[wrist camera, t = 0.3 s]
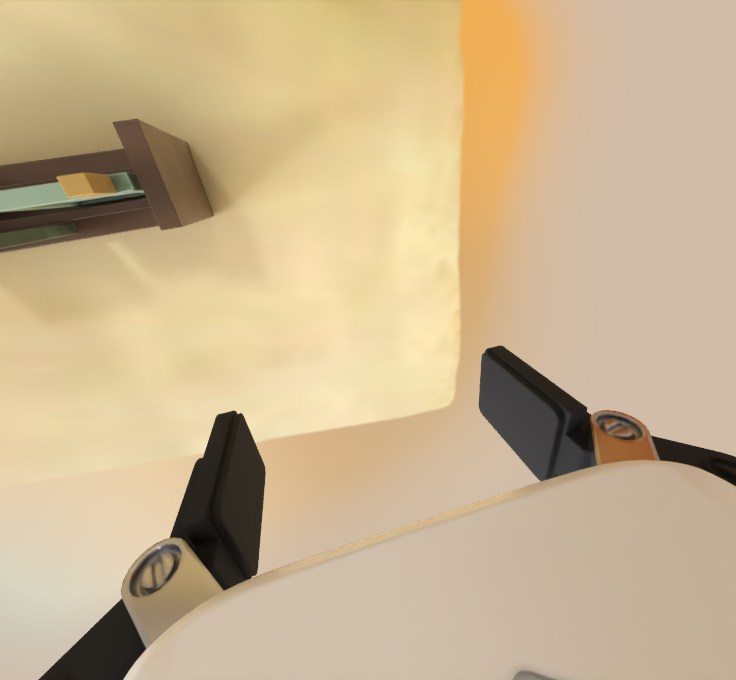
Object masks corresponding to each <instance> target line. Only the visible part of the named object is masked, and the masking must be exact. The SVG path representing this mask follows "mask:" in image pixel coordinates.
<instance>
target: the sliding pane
mask: <svg viewBox="0 0 736 680" xmlns="http://www.w3.org/2000/svg"><path fill="white" fill-rule="evenodd" d="M57 179H58V181H59V182H55V183H48V184H41V185H35V186H28V187H21V188H14V189H7V190H0V213H1V212H14V211H27V210H39V209H52V208H65V207H77V206H83V205H90V204H96V203H102V202H109V201H115V200H121V199H128V198H134V197H140V196H145V194H144V191H143V189H142V187H141V185H140V183H139V180H138V178H137V176H136V174H135V173H128V172H123V173H116V174H109V175H107V174H95V173H76V174H69V175H62V176H57Z"/></svg>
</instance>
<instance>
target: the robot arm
mask: <svg viewBox="0 0 736 680" xmlns="http://www.w3.org/2000/svg"><path fill="white" fill-rule="evenodd" d="M479 409H480V411H481V413H482V415H483V416H484V417H485V418H486V419H487V420H488V422H489V423H490V424H491V425H492V426H493V427H494V429H495V430H496V431H497V432H498V433H499V434H500V435H501V437H502V438H503V439H504V440H505V441H506V442H507V444H508V445H509V446H510V447H511V448H512V449H513V450H514V452H515V453H516V454H517V455H518V456H519V458H520V459H521V460H522V461H523V462H524V463H525V464H526V466H527V467H528V468H529V469H530V470H531V471H532V473H533V474H534V475H535V476H536V477H537V478H538V479H539V480H540V481H541V482H538V483H535V484H532V485H529V486H526V487H523V488H519V489H516V490H513V491H510V492H507V493H504V494H501V495H497V496H494V497H491V498H488V499H485V500H482V501H479V502H476V503H472V504H469V505H466V506H463V507H460V508H457V509H454V510H451V511H448V512H445V513H442V514H439V515H435V516H433V517H429V518H426V519H423V520H420V521H417V522H414V523H411V524H408V525H405V526H402V527H399V528H396V529H393V530H390V531H387V532H383V533H380V534H377V535H374V536H372V537H368V538H365V539H362V540H359V541H356V542H353V543H350V544H347V545H344V546H341V547H339V548H335V549H332V550H329V551H326V552H323V553H320V554H317V555H314V556H312V557H309V558H306V559H303V560H300V561H297V562H295V563H292V564H289V565H286V566H283V567H280V568H277V569H275V570H272V571H269V572H266V573H264V574H261V575H259V576H256V577H254V578H251V577H252V576H255V575H256V574H257V570H258V560H259V547H260V535H261V523H262V511H263V499H264V497H263V496H264V486H265V466H264V463H263V461H262V458H261V456H260V454H259V451H258V449H257V446H256V444H255V442H254V439H253V437H252V435H251V432H250V430H249V428H248V425H247V423H246V421H245V418H244V416H243V414H242V413H240V414H237V412H236V411H231V412H227V413H223V414H218V415H217V417H216V419H215V422H214V425H213V428H212V432H211V435H210V438H209V441H208V444H207V447H206V450H205V453H204V457H203V458H200V459H198V460H197V462H196V463H195V466H194V468H193V471H192V474H191V477H190V480H189V484H188V486H187V489H186V492H185V495H184V498H183V501H182V504H181V506H180V509H179V512H178V515H177V518H176V521H175V524H174V527H173V530H172V533H171V536H170V538H169V539H165V540H162V541H160V542H158V543H156V544H154V545H153V546H152V547H150V548H149V549H147V550H146V551H145V552H144V553H143V554H142V555H141V556H140V557H139V558H138V559H137V560H136V561H135V562H134V564H133V565H132V566H131V567H130V569H129V570H128V572H127V574H126V576H125V578H124V580H123V583H122V588H121V595H122V599H121V600H120V601H119V602H118V603H117V604H116V605H115V606H114V607H113V608H112V609H111V610H110V611H109V612H108V613H107V614H106V615H104V616H103V618H101V619H100V620H99V622H97V623H96V624H95V625H94V626H93V627H92V628H91V629H90V630H89V631H88V632H87V633H86V634H85V635H84V636H83V637H82V638H81V639H80V640H79V641H78V642H77V643H76V644H75V645H74V646H73V647H72V648H71V649H70V650H69V651H68V652H67V653H65V654H64V655H63V656H62V657H61V658H60V659H59V660H58V661H57V662H56V663H55V664H54V665H53V666H52V667H51V668H50V669H49V670H48V671H47V672H46V673H45V674H44V675H43V676H42V677H41V678H40V679H39V680H736V457H734V456H731V455H728V454H725V453H721V452H717V451H713V450H709V449H704V448H700V447H696V446H692V445H688V444H684V443H679V442H675V441H671V440H667V439H663V438H658V437H654V436H651V435H650V433H649V431H648V429H647V427H646V426H645V425H643V424H642V423H641V422H640V421H639V420H637V419H635V418H634V417H632V416H629V415H627V414H624V413H621V412H617V411H610V410H603V411H598V412H595V413H594V414H593V415H591V414H589V413H588V412H587V407H585V406H584V405H583V404H581V403H580V402H579V401H577V400H576V399H574V398H573V397H572V396H570V395H569V394H568V393H566V392H565V391H563V390H562V389H561V388H559V387H558V386H557V385H555V384H554V383H552V382H551V381H550V380H548V379H547V378H546V377H544V376H543V375H542V374H540V373H539V372H537V371H536V370H535V369H533V368H532V367H531V366H529V365H528V364H526V363H525V362H524V361H522V360H521V359H520V358H518V357H517V356H515V355H514V354H513V353H511V352H510V351H509V350H507V349H506V348H505V347H503V346H497V347H492V348H488V349H486V351H485V353H484V354H482V361H481V377H480V394H479Z"/></svg>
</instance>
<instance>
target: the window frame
mask: <svg viewBox="0 0 736 680" xmlns="http://www.w3.org/2000/svg"><path fill="white" fill-rule="evenodd" d="M113 125H114V127H115V129H116V131H117V134H118V136H119V138H120V140H121V143H122V145H123V147H124V149H119V150H112V151H105V152H98V153H90V154H83V155H76V156H68V157H61V158H54V159H46V160H39V161H32V162H24V163H17V164H10V165H2V166H0V190H7V189H14V188H21V187H28V186H35V185H41V184H48V183H55V182H59V181H58V179H57V176H62V175H69V174H76V173H95V174H107V175H109V174H116V173H123V172H128V173H135V174H136V176H137V178H138V180H139V183H140V185H141V187H142V189H143V191H144V194H145V196H140V197H134V198H128V199H121V200H115V201H109V202H102V203H96V204H90V205H83V206H77V207H65V208H52V209H39V210H27V211H14V212H1V213H0V253H4V252H10V251H15V250H21V249H27V248H33V247H39V246H45V245H50V244H56V243H62V242H68V241H74V240H79V239H85V238H91V237H97V236H103V235H109V234H114V233H120V232H126V231H132V230H138V229H143V228H149V227H155V226H159V227H160V229H161V230H167V229H173V228H178V227H183V226H186V225H189V224H192V223H195V222H198V221H200V220H203V219H206V218H209V217H212V216H214V215H213V212H212V210H211V207H210V204H209V201H208V199H207V196H206V193H205V190H204V188H203V185H202V182H201V179H200V177H199V174H198V171H197V168H196V166H195V163H194V160H193V157H192V154H191V152H190V149H189V146H188V143H187V142H185V141H183V140H181V139H179V138H176V137H174V136H172V135H170V134H168V133H166V132H164V131H161V130H159V129H157V128H155V127H153V126H151V125H149V124H147V123H144V122H142V121H140V120H138V119H133V120H125V121H117V122H113Z"/></svg>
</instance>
